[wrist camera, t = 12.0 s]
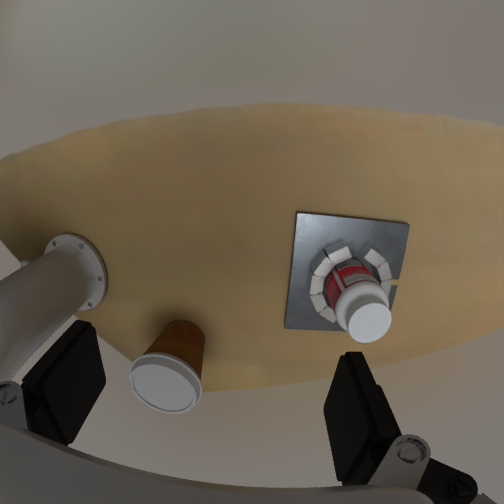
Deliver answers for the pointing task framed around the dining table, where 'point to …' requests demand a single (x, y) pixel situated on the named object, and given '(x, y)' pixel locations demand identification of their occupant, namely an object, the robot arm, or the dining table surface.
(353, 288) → the pill bottle
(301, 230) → the socket plate
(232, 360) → the dining table surface
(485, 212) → the dining table surface
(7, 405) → the robot arm
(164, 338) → the disposable coffee cup
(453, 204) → the dining table surface
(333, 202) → the dining table surface
